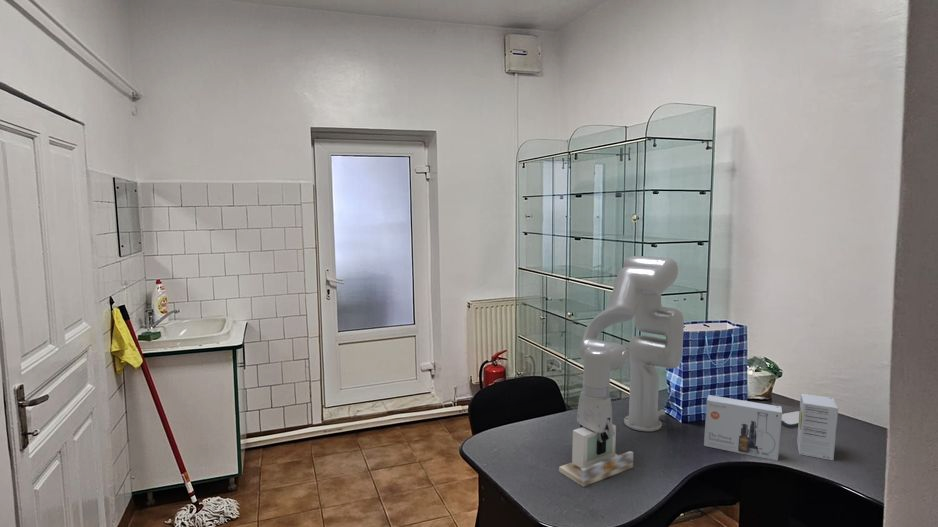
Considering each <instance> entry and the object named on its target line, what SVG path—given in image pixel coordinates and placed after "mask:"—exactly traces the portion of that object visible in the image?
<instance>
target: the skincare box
mask: <svg viewBox="0 0 938 527" xmlns="http://www.w3.org/2000/svg"><path fill="white" fill-rule="evenodd" d="M705 408H706V409H705V424H704V435H703V436H704V439H703V446H704V447H706V448H707V447H708V448H712V449H717V450H723V451H728V452H732V453H736V454H741V455H747V456H751V457H752V456H753V457H758V458H763V459H767V460H772V461H777V462H778V461H779V452H780V442H781V430H782V425H781V420H782V414H783V408H782V406H781V405H775V404H774V405H773V404H767V403H760V402H757V401H755V402H754V401H750V400H749V401H748V400H742V399H737V398H730V397H724V396H723V397H722V396H718V395H713V394H712V395H711V394H708V395H707V398H706V407H705Z"/></svg>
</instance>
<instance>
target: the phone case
mask: <svg viewBox="0 0 938 527" xmlns="http://www.w3.org/2000/svg"><path fill="white" fill-rule="evenodd" d="M799 412H800V410H797V411H790V412H783V413H782V420H781V427H782V426H783V427H785V428H788V429H793V428H798V424H799Z"/></svg>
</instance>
